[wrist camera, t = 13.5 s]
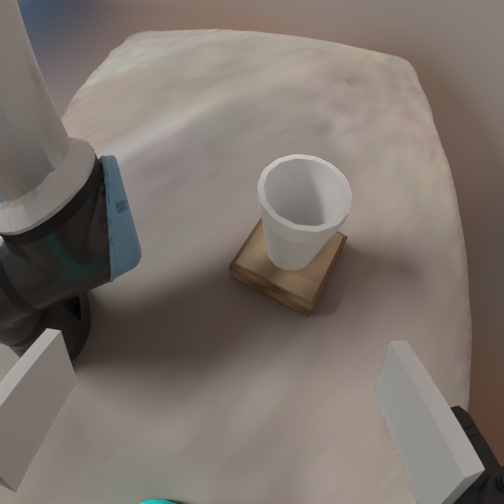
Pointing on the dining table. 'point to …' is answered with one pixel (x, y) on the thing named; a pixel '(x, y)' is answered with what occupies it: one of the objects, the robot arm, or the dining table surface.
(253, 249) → the pedestal
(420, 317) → the dining table surface
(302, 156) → the foam cup
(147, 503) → the donuts
